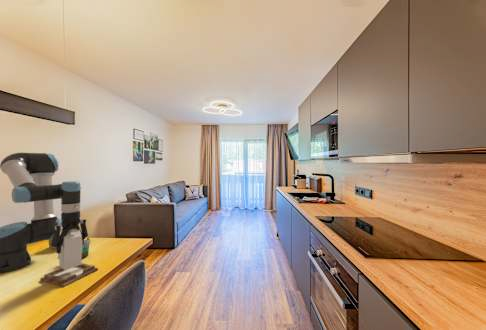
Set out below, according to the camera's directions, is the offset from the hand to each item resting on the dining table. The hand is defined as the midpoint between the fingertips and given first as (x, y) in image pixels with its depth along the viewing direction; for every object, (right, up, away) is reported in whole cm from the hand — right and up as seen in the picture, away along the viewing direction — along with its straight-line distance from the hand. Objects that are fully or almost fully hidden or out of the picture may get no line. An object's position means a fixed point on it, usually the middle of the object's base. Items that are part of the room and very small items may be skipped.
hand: (70, 255), depth 105 cm
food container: (-9, -11, +20) cm, 24 cm away
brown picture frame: (0, -10, 0) cm, 10 cm away
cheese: (-37, -11, +37) cm, 53 cm away
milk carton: (0, -6, 0) cm, 6 cm away
